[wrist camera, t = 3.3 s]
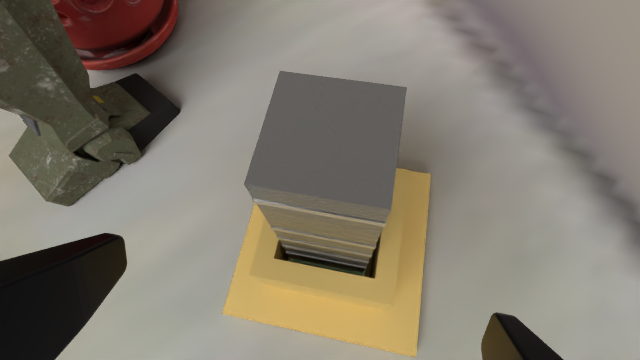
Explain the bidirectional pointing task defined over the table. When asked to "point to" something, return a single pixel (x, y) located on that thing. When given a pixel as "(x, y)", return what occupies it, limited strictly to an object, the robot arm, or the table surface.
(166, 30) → the plant pot
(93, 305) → the robot arm
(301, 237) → the column
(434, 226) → the table surface
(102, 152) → the mechanical leg
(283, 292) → the stand base
